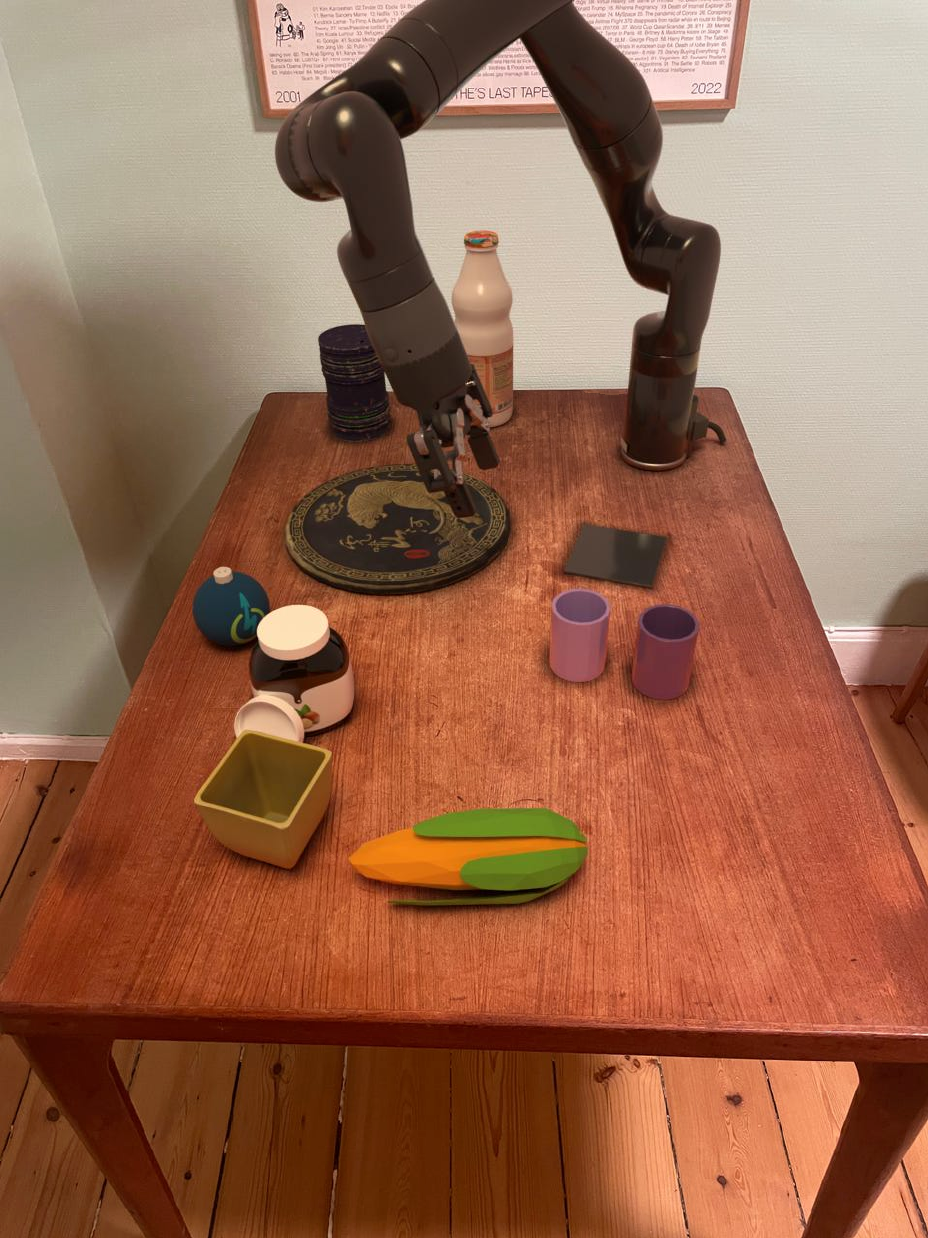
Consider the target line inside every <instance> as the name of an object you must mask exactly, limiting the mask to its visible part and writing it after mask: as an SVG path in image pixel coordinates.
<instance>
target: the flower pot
mask: <svg viewBox="0 0 928 1238" xmlns="http://www.w3.org/2000/svg"><path fill="white" fill-rule="evenodd" d="M332 775H333V752H332V751H331V750H329V749H326V748H323V747H320V746H317V745H313V744H309V743H304V742H303V743H301V742H297V741H294V740H289V739H285V738H281V737H277V736H274V735H269V734H266V733H262V732H259V731H253V730H244V731H243V732H242V733H241V734H240V735H239V736H238V738H237V737H236V739H235V740H234V741H233V743H232V744H231V746H230V748H229V749H228V750H227V752H226V753H225V754H224V756H223V757H222V759H221V760H220V762H218V764H217V766H216V767H215V768H214V770H213V771H212V773H210V775H209V777H207V779H206V780H205V782H204V783H203V784H202V786H201V787H200V789H199V790H198V791H197V793H196V794H195V796H194V799H193V803H194V805H195V806H196V809H197V810H198V812H199V813H200V815H201V818H202V819H203V822H205V824H206V826H207V828H208V830H209V832H210V833H211V834H212V836H213V837H214V838H215V839H216V841H218V843H220V844H222V845H223V846H224V847H225V848H227V849H229V850H231V851H233V852H235V853H236V854H239V855H241V856H244V857H246V858H251V859H254V860H257V861H260V862H265V863H267V864H271V865H274V866H277V867H279V868H284V869H288V870H289V869H290V870H291V869H292V868H293V867H295V865H296V864H297V862H298V860H299V859H300V858H301V855H302V853H303V852H304V850H305V848H306V847H307V844H308V843H309V841H310V840H311V837H312V836H313V834H314V833H315V831H316V829H317V828H318V826H319V824H320V823H321V821H322V818H323V817H324V814H326V810H327V808H328V806H329V803H330V798H331V795H332V782H333V781H332V777H333V776H332Z"/></svg>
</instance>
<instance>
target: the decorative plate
mask: <svg viewBox="0 0 928 1238" xmlns="http://www.w3.org/2000/svg"><path fill="white" fill-rule="evenodd" d="M450 470H451V472H452V473H453V471H452V468H450ZM431 473H432V475H433V478H434V470H431ZM463 480H465V482H466V484H467V486H468V489H469V491H470V493H471V496H472V498H473V500H474V503H475V505H476V507H477V510H476V512H475V515H474V516H471V517H465V518H457V517H455V515H454V513H453V511H452V509H451V507H450V504H449V502H448V500H447V498H446V496H445V493H444V492H443V491H441V492H435V493H429V492H428V491H427V489H426V486H425V484H424V482H423V479H422V477H421V475H420V472H419V470H418V467H417V465H416V463H397V464H396V463H395V464H385V465H378V466H377V465H376V466H371V467H367V468H361V469H356V470H354V471H350V472H347V473H344V474H341V475H338V476H335V477H334V478H331V479H330V480H327V481H325V482H323V483H321V484H319V485H318V486H317V487H314V488H313V489H311V490H310V491H309V492H308V493H306V494H305V495H304V496H303V497H302V498H301V499H300V500H298V502H297V503H296V504H295V506H294V507H293V509H292V511H291V512H289V513H290V514H289V515H288V517H287V521H286V525H285V527H284V540H285V548H286V550H287V552H288V554H289V556H290V558H291V560H292V561H293V562H294V563H295V564H296V565H297V566H298V567H299V568H300V569H301V570H302V571H303V572H305V573H306V574H308V575H309V576H311V577H313V578H314V579H316V580H317V581H320V582H322V583H324V584H327V585H328V586H329V585H330V586H332V587H335V588H339V589H341V590H346V591H350V592H354V593H363V594H372V595H405V594H412V593H420V592H427V591H431V590H435V589H439V588H442V587H445V586H449V585H450V586H451V584H455V583H457V582H459V581H461V580H464V579H466V578H468V577H471V576H473V575H474V574H475V573H477V572H480V571H481V570H482V569H484V568H485V567H487V566H488V565H489V564H490V563H491V562H492V561H493V560H495V558H497V557H498V556H499V555H500V553H501V552H502V551H503V549H504V547H505V545H506V544H507V543H508V540H509V536H510V533H511V517H510V510H509V509H508V506H507V504H506V502H505V500H504V498H503V497H502V496H500V493H498V492H497V491H496V490H495V488H493V487H491V486H490V484H488V483H486V482H485V481H484V480H481V479H479V478H478V477H475V476H474V475H471V474H469V473H466V472H463Z"/></svg>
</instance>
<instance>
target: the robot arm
mask: <svg viewBox="0 0 928 1238" xmlns="http://www.w3.org/2000/svg"><path fill="white" fill-rule="evenodd" d="M574 1H575V0H423V1H422V2H420V3H419V4H417V5H416V6H415V7H413V8H412V9H411V10H409V11H408V12H407V13H406V14H405V15H403V16H402V17H401V18H400V19H399V20H398V21H397V22H396V23H395V24H394V25H393V26H391V28H390V29H388V30H387V31H386V32H385V33H384V34H383V35H382V36H381V37H380V38H379V39H377V41H376V42H375V43H374V44H373V45H372V46H371V47H370V48H369V50H368V51H367V52H366V53H365V54H363V56H362V57H360V59H359V60H357V61H356V62H355V63H354V64H352V65H351V66H350V67H349V68H347V69H346V70H344V71H342V72H341V73H339V74H337V76H335V77H334V78H332V79H331V80H329V81H328V82H327V83H325V84H324V85H322V86H321V87H320V88H318V89H316V90H315V91H314V92H313V93H311V94H309V96H307V97H306V98H304V99H303V100H302V101H301V102H300V103H298V104H297V105H296V106H295V107H294V108H293V109H292V110H291V111H290V112H289V113H288V114H287V115H286V117H285V118H284V119H283V121H282V123H281V125H280V127H279V129H278V132H277V135H276V138H275V144H274V161H275V165H276V169H277V172H278V174H279V177H280V179H281V181H282V182H283V183H284V185H285V186H286V187H287V188H288V189H289V190H290V191H291V192H292V193H293V194H295V195H296V196H298V197H299V198H301V199H303V200H306V201H310V202H315V203H329V202H333V201H337V200H343V202H344V205H345V209H346V213H347V217H348V222H349V227H350V228H349V229H350V230H348V231H347V232H345V234H344V235H343V236H342V237H341V238H340V240H339V241H338V243H337V247H336V256H337V261H338V263H339V266H340V270H341V271H342V274H343V276H344V278H345V280H346V282H347V284H348V286H349V289H350V291H351V293H352V296H353V298H354V301H355V303H356V305H357V307H358V310H359V312H360V314H361V318H362V321H363V323H364V324H363V325H365V327H366V330H367V333H368V336H369V339H370V341H371V343H372V345H373V348H374V350H375V352H376V354H377V356H378V359H379V361H380V363H381V365H382V368H383V370H384V372H385V377H386V379H387V380H388V383H389V385H390V387H391V390H392V392H393V394H394V396H395V398H396V400H397V402H398V403H399V404H400V405H401V406H405V407H408V408H410V409H412V410H414V411H415V412H416V415H417V418H418V423H419V429H418V431H417V432H413V433H408V434H407V435H406V443H407V446H408V449H409V451H410V454H411V456H412V458H413V460H414V462H415V463H414V464H416V465H417V467H418V470H419V472H420V475H421V477H422V479H423V482H424V484H425V486H426V489H427V491H428V492H429V493H435V492H441V491H443V492H444V493H445V496H446V498H447V500H448V502H449V504H450V507H451V509H452V511H453V513H454V515H455V517H457V518H465V517H471V516H474V515H475V512H476V510H477V507H476V505H475V503H474V500H473V498H472V496H471V493H470V491H469V489H468V486H467V484H466V482H465V480H463V473H464V472H463V464H462V461H463V460H464V459H465V458H466V445H465V438H466V436H467V440H466V441H467V443H468V446H469V448H470V450H471V453H472V456H473V457H474V460H475V463H476V465H477V467H478V468H479V469H480V470H482V471H486V470H493V469H496V468H498V466H499V465H500V462H501V461H500V458H499V455H498V452H497V450H496V447H495V444H494V442H493V440H492V437H491V435H490V433H489V432H490V430H491V427H490V423H489V421H488V420H487V419H488V417H492V415H493V411H492V407H491V405H490V403H489V400H488V398H487V396H486V393H485V391H484V388H483V386H482V384H481V381H480V379H479V376H478V374H477V372H476V369H475V367H474V365H473V364H470V361H469V358H468V356H467V353H466V351H465V348H464V346H463V343H462V340H461V338H460V335H459V333H458V330H457V327H456V325H455V323H454V322H455V319H454V317H453V315H452V312H451V310H450V307H449V304H448V302H447V300H446V298H445V296H444V294H443V292H442V291H441V289H440V286H439V285H438V283H437V281H436V279H435V277H434V274H433V272H432V268H431V266H430V264H429V261H428V259H427V256H426V253H425V251H424V249H423V247H422V243H421V241H420V239H419V238H418V235H417V231H416V226H415V217H414V209H413V207H414V206H413V201H412V193H411V187H410V181H409V180H410V179H409V175H408V167H407V161H406V155H405V150H404V147H403V142H402V140H404V139H406V138H409V137H411V136H413V135H415V134H417V133H419V131H422V129H424V128H425V127H426V126H427V125H428V124H429V123H430V122H432V120H433V119H434V118H435V117H436V116H437V115H438V114H439V113H440V112H441V111H442V110H443V109H445V107H446V106H447V105H448V104H449V103H451V101H452V100H453V99H454V98H455V97H456V96H457V94H458V93H459V92H460V91H462V89H463V88H464V87H465V86H466V85H468V83H469V82H470V81H472V79H474V78H475V76H477V75H478V74H479V73H480V72H481V71H482V70H483V69H484V68H485V67H486V66H488V65H489V64H490V63H491V62H492V61H493V60H495V59H496V58H497V57H498V56H500V55H501V54H502V53H503V52H505V50H506V49H508V48H509V47H510V46H511V45H513V44H514V43H515V42H517V41H518V40H520V42H521V44H522V45H523V46H524V49H525V50H526V51H527V53H528V56H530V58H531V60H532V61H533V64H534V65H535V67H536V69H537V71H538V72H539V75H540V76H541V78H542V80H543V82H544V84H545V87H546V88H547V90H548V92H549V94H550V96H551V98H552V100H553V102H554V103H555V105H556V107H557V110H558V112H559V113H560V115H561V117H562V119H563V122H564V124H565V127H566V129H567V132H568V134H569V137H570V139H571V141H572V143H573V145H574V147H575V149H576V151H577V154H578V156H579V157H580V161H582V163H583V166H584V168H585V169H586V171H587V173H588V175H589V176H590V179H591V181H592V183H593V185H594V187H595V189H596V192H597V194H598V197H599V198H600V200H601V204H602V205H603V208H604V210H605V212H606V215H607V216H608V218H609V221H610V224H611V227H612V230H613V234H614V236H615V238H616V242H617V245H618V249H619V252H620V255H621V258H622V261H623V263H624V264H623V265H624V266H625V268H626V271H627V273H628V275H629V277H630V279H632V281H633V282H634V283H635V284H636V285H638V286H639V287H641V288H644V289H647V290H648V291H653V292H656V293H659V294H663V295H666V296H668V297H667V301H666V302H667V303H666V307H665V310H662V311H661V310H660V311H655V312H651V313H647V314H645V315H642V316H641V317H639V318H638V319H637V320H636V321H635V323H634V325H633V329H632V339H631V350H630V361H629V363H630V364H629V372H628V383H627V394H626V402H625V403H626V405H625V414H624V416H625V417H624V426H623V434H622V435H623V436H622V435H620V441H619V444H620V445H621V451H620V456H621V459H623V461H624V462H626V463H627V464H628V465H630V466H632V467H635V468H638V469H641V470H645V471H653V472H655V471H668V470H673V469H675V468H677V467H679V466H681V465H682V464H683V463H684V462H685V460H686V459H687V458H691V455H692V447H693V442H694V441H697V440H700V439H704V438H707V435H708V429H711V430H712V431H713V432H715V434H716V435H717V438H718V441H719V443H720V444H721V445H722V444H724V443H726V442H727V438H726V436H725V433H724V431H723V429H722V428H721V426H720V425H718V423H715V422H713V421H710V419H709V418H708V417H706V416H705V415H704V414H702V413H700V412H699V411H698V409H699V402H700V398H699V396H698V394H696V393H695V388H696V382H697V375H698V369H699V361H700V353H701V346H702V340H703V335H704V333H705V330H706V327H707V325H708V322H709V319H710V315H711V311H712V304H713V299H714V293H715V289H716V284H717V279H718V273H719V271H720V270H719V268H720V263H721V256H722V255H721V254H722V243H721V242H722V241H721V237H720V234H719V231H718V230H717V228H716V227H715V226H714V225H712V224H710V223H707V222H706V223H705V222H702V221H700V220H699V221H698V220H694V219H690V218H685V217H681V216H677V215H673V214H670V213H668V212H667V211H666V210H665V209H664V208H663V207H662V205H661V203H660V202H659V199H658V197H657V194H656V192H655V189H654V187H653V179H654V176H655V173H656V171H657V168H658V165H659V162H660V159H661V156H662V150H663V146H664V131H663V126H662V122H661V119H660V116H659V113H658V111H657V108H656V106H655V103H654V99H653V97H652V93H651V91H650V89H649V87H648V84H647V82H646V80H645V78H644V76H643V75H642V73H641V72H640V71H639V69H638V68H637V66H636V65H635V64H633V62H632V61H631V60H630V59H629V58H628V56H626V55H625V54H624V53H623V52H622V51H621V50H620V49H619V48H617V47H616V46H615V45H614V44H613V43H612V42H611V41H609V39H607V38H606V37H605V36H604V35H603V34H601V33H600V32H599V31H598V30H597V29H596V28H595V27H594V26H593V25H592V24H591V23H589V22H588V21H587V20H586V18H584V16H583V15H582V14H581V12H580V11H579V10H578V8H577V7H576V5H575V4H574ZM473 400H478V401H479V403H480V405H481V407H478V406H477V405H476V404H475V403H474V402H473ZM452 447H453V448H452ZM448 448H452V449H451V450H448V451H444V450H443V449H448ZM448 462H450V463H451V467H450V464H449V463H448ZM450 469H452V471H453V473H452V472H451V470H450ZM431 470H434V478H433V475H432V473H431Z"/></svg>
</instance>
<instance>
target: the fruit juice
mask: <svg viewBox="0 0 928 1238" xmlns="http://www.w3.org/2000/svg"><path fill="white" fill-rule="evenodd" d="M463 237H464V238H463V245H464V249H465V252H466V253H465V255H464V258H463V262H462V265H461V269H460V271H459V274H458V278H457V280H456V282H455V284H454V286H453V288H452V291H451V305H452V310H453V312H454V323H455V325H456V327H457V330H458V333H459V335H460V338H461V340H462V343H463V346H464V348H465V351H466V353H467V356H468V358H469V361H470V364H473V365H474V367H475V369H476V372H477V374H478V376H479V379H480V381H481V384H482V386H483V388H484V391H485V393H486V396H487V398H488V400H489V403H490V405H491V407H492V411H493V415H492V417H488V419H487V420H488V421H489V423H490V428H495V427H499V426H502V425H504V424H506V423H507V422H508V421H510V420H511V418H512V416H513V411H514V343H515V342H514V328H513V327H514V326H513V322H512V320H511V317H510V316H511V315H510V314H511V311H512V307H513V301H514V298H513V297H514V295H513V294H514V293H513V289H512V286H511V285H510V283H509V281H508V279H507V278H506V275H505V272H504V269H503V266H502V264H501V260H500V258H499V254H498V251H497V249H498V247H499V242H500V241H499V235H498V233H496V232H495V231H492V230H482V229H481V230H472V231H469V232H466V233H465V234H464V235H463ZM473 402H474V403H475V404H476V405H477V406H478V407H481V405H480V403H479V401H478V400H473Z"/></svg>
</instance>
